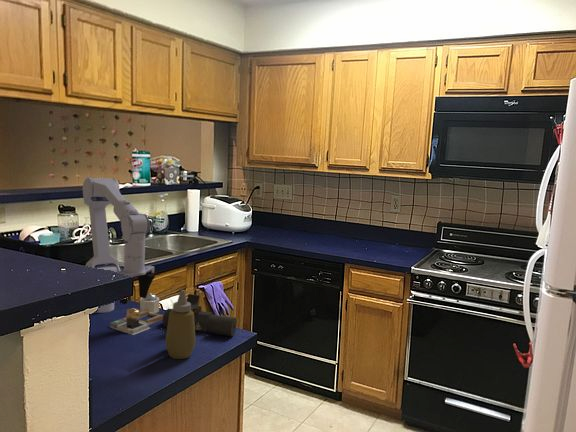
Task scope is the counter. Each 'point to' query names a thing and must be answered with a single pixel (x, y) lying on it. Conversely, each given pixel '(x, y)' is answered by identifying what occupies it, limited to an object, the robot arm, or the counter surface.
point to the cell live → (132, 318)
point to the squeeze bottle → (180, 329)
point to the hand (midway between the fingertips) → (133, 300)
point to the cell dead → (150, 297)
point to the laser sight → (207, 319)
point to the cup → (149, 305)
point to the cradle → (122, 327)
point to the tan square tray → (152, 320)
